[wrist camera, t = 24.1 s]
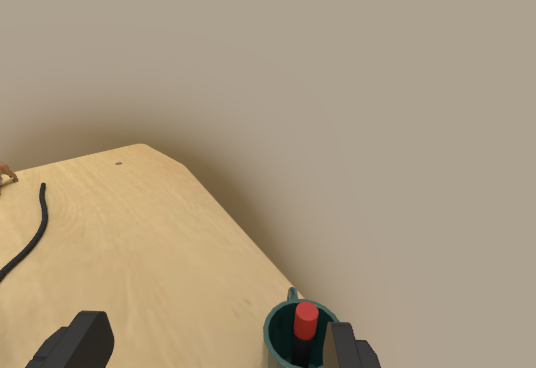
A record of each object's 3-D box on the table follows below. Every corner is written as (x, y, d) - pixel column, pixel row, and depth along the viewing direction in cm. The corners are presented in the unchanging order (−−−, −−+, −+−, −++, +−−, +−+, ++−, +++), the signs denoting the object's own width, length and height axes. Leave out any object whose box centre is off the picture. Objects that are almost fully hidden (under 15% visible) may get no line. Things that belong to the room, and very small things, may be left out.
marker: (283, 388, 36) (291, 310, 30) (295, 375, 37) (305, 297, 31) (297, 403, 34) (308, 324, 28) (309, 389, 36) (323, 311, 30)
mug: (339, 431, 33) (357, 371, 28) (262, 436, 32) (265, 375, 27) (315, 331, 44) (325, 274, 39) (258, 333, 43) (260, 276, 38)
